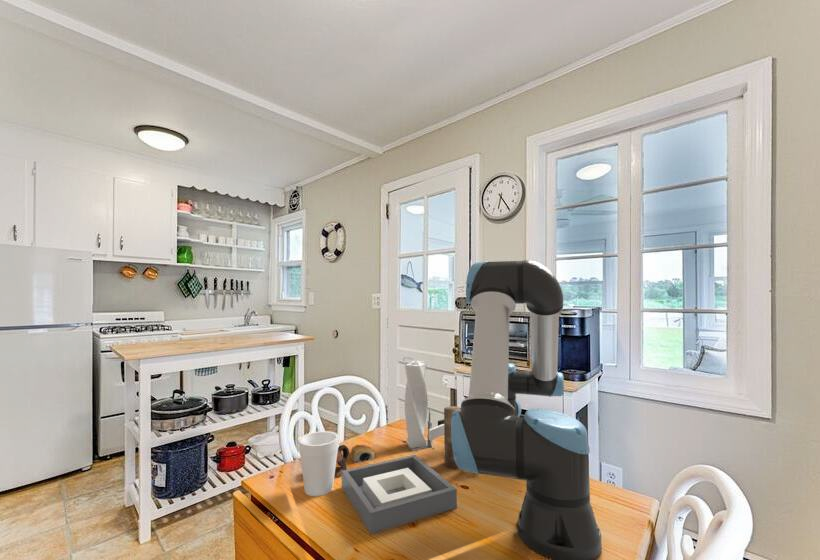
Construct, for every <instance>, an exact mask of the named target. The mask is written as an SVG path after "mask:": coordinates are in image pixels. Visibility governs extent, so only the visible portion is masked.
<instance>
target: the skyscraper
mask: <svg viewBox="0 0 820 560" xmlns="http://www.w3.org/2000/svg"><path fill="white" fill-rule="evenodd" d="M405 359H406V360H411V362H410V363H407V364H406V361H405ZM402 361H403V365H404V371H405V375H406V385H405V393H404V414H405V423H406V424H405V425H406V432H407V437H406V441H405V444H406V446H407V447H408V449H409V450H410V451H411V452H415V451H421V450H425V449H432V450H435V448H434V439H433V440H429V429H432V428H433V420H432V412H431V407H429V408H428V406H429V404H428V402H429V399H428V391H427V386H426V383H425V375H426V370H427V362H426V361H424V360H420V359H418V360H417V359H414V358H412V357H409V356H406V357H405V356H404V357H403V358H402ZM427 418H428V421H427ZM426 425H427V436H426V437H427V439H425V435H424V434H425V431H426Z"/></svg>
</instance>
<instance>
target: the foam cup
mask: <svg viewBox="0 0 820 560" xmlns="http://www.w3.org/2000/svg"><path fill="white" fill-rule="evenodd" d="M339 446H340V436H339V434H338V433H336V432H334V431H327V430H322V431H313V432H310V433H309V432H308V433H306V434H303V435H302V436H301V437H300V438H298V452H299V456H300V464H301V471H302V479H303V487H304V493H305V494H306V495H307V496H311V497H321V496H325V495H327V494H329V493H331V492H332V491H333V488H334V482H335V475H336V469H337V468H336V466H337V463H336V460H337V452H338V447H339Z"/></svg>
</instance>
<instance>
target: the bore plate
mask: <svg viewBox="0 0 820 560" xmlns="http://www.w3.org/2000/svg"><path fill="white" fill-rule="evenodd" d="M400 487H404V488H405V489H406V490H404V491H400V492H396V493H392V494H389V495H388V494H387V493H386V491H389V490H392V489H396V488H400ZM363 492H364V494H365V495H366V496H367V498H368V499H369V501H370V502H371V503H372V505H373V506H374V508H378V507H381V506H385V505H389V504H392V503H396V502H399V501H403V500H407V499H410V498H414V497H417V496H421V495H425V494H428V493H432V489H431V488H429V487H428V486H427V485H426V484H425V483H424V482H423V481H422V480H421V479H420V478H419V477H418V476H416V475H415V474H414V473H413V472H412V471H411V470H410V469H409V468H405V469H400V470H396V471H392V472H388V473H383V474H379V475H375V476H371V477H366V478H363Z"/></svg>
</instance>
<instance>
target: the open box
mask: <svg viewBox="0 0 820 560" xmlns="http://www.w3.org/2000/svg"><path fill="white" fill-rule="evenodd" d="M405 468H409V469H410V470H411V471H412V472H413V473H414V474H415V475H416V476H418V477H419V478H420V479H421V480H422V481H423V482H424V483H425V484H426V485H427V486H428V487H429V488H431V489H432V493H428V494H425V495H421V496H417V497H414V498H410V499H407V500H403V501H399V502H396V503H392V504H389V505H385V506H381V507H378V508H374V506H373V505H372V503H371V502H370V501H369V499H368V498H367V496H366V495H365V494H364V492H363V478H366V477H371V476H375V475H379V474H383V473H388V472H392V471H396V470H400V469H405ZM341 489H342V491H343V493H344V494H345V496H346V498H347V499H348V501H349V502H350V504H351V505H352V507H353V508H354V510H355V512H356V513H357V515H358V516H359V519H361V522H363V523H362V524H364V526H365V528H366V529H367V530H368V532H369V535H374V534H376V533H380V532H384V531H386V530H390V529H393V528H396V527H400V526H403V525H406V524H409V523H412V522H416V521H419V520H422V519H425V518H430V517H431V516H435V515H438V514H441V513H445V512H448V511H452V510H455V509H457V508H458V506H457V505H458V498H457V497H458V495H457V489H458V488H456V487H455V486H453V484H451V483H450V482H449V481H448V480H447V479H446V478H444V477H443V476H441V474H439V473H438V472H437V471H436V470H434V469H433V468H432V467H431V466H429V464H427V463H425V461H424V460H422V459H421V458H419V457H418V456H417V455H416V454H411V455H407V456H402V457H398V458H393V459H389V460H384V461H380V462H379V461H378V462H374V463H371V464H365V465H361V466H357V467H352V468H347V470H343V471H342V476H341ZM404 490H406V489H405V488H404V487H400V488H396V489H392V490H389V491H386V493H387V494H388V495H389V494H392V493H396V492H400V491H404Z"/></svg>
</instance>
